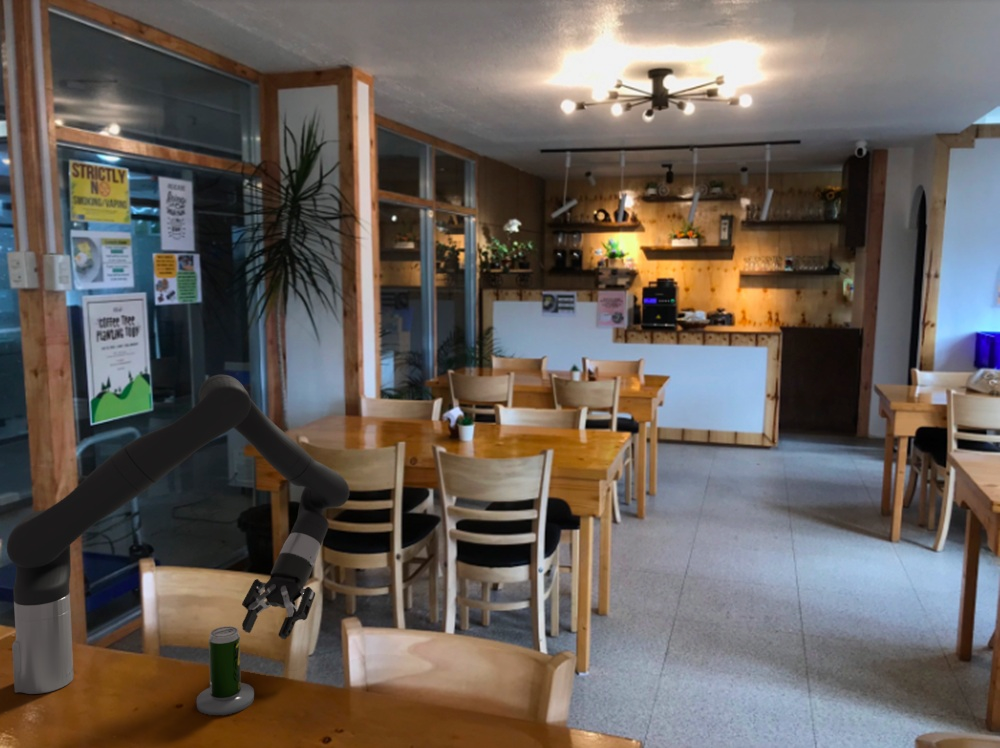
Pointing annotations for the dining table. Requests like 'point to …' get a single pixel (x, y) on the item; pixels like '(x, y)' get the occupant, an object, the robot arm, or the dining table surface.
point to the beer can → (224, 663)
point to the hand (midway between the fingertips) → (263, 634)
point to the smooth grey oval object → (225, 702)
